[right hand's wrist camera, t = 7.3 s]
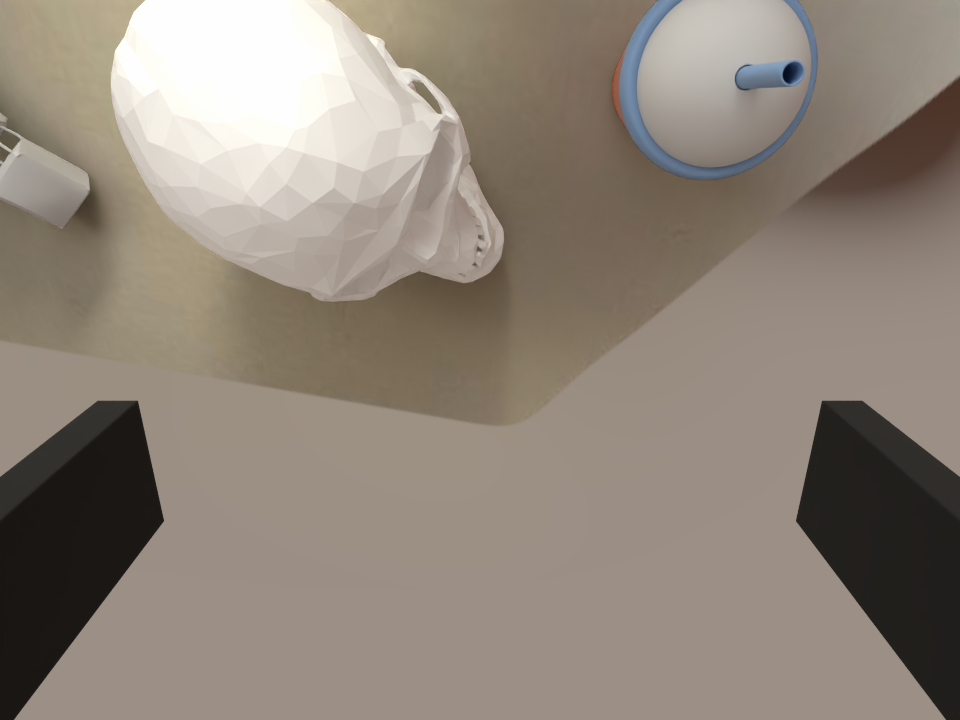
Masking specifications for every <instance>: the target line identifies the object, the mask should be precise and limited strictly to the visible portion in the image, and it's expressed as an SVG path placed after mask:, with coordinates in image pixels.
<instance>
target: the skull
mask: <svg viewBox="0 0 960 720" xmlns="http://www.w3.org/2000/svg"><path fill="white" fill-rule="evenodd" d="M412 81H415V82H421V83H424V85H425V86H426V87H427V88H428V90H429V91H430V92H431V94H432V95H433V96H434V97H435V99H436V100H437V101H438V103H439V106H440V108H441V112H442V114H437V113H436V112H435V111H434V109H433V108H432V107H431V106H430V105H429V104H428V103H427V102H426V101H425V100H424V98H422V97H421V96H420V95H419V94H417V91H416V88H415V85H414V84H413V83H412ZM111 92H112V102H113V108H114V112H115V116H116V120H117V124H118V127H119V130H120V132H121V135H122V138H123V140H124V143H125V145H126V147H127V149H128V151H129V153H130V155H131V157H132V159H133V161H134V163H135V165H136V167H137V169H138V171H139V173H140V175H141V177H142V179H143V181H144V183H145V185H146V186H147V188H148V189H149V191H150V192H151V194H152V195H153V197H154V198H155V200H156V201H157V203H158V204H159V206H160V207H161V209H162V210H163V212H164V213H165V214H166V215H167V216H168V217H169V219H170V220H171V221H172V222H174V223H175V224H176V225H177V226H179V227H180V228H181V229H182V230H184V231H185V232H186V233H188V234H189V235H190V236H191V237H193V238H194V239H195V240H197V241H198V242H199V243H200V244H202V245H203V246H205V247H206V248H208V249H209V250H211V251H213V252H214V253H216V254H217V255H219V256H221V257H222V258H224V259H226V260H227V261H229V262H232V263H234V264H236V265H238V266H241V267H243V268H245V269H247V270H250V271H252V272H254V273H257V274H259V275H261V276H263V277H266V278H268V279H270V280H273V281H275V282H277V283H280V284H282V285H285V286H288V287H292V288H295V289H299V290H302V291H306V292H309V293H311V295H312V297H314V298H316V299H318V300H320V301H332V302H337V301H350V300H365V299H368V298H371V297H374V296H375V295H376V294H377V293H378V291H379V290H381V289H383V288H385V287H387V286H389V285H391V284H393V283H394V282H396V281H398V280H399V279H401V278H403V277H406V276H408V275H411V274H413V273H416V272H418V271H421V272H424V273H427V274H430V275H434V276H438V277H441V278H443V279H450V280H453V281H457V282H461V283H468V282H473V281H475V280H477V279H479V278H481V277H483V276H485V275H487V274H488V273H490V272H491V271H492V270H493V268H494V267H495V266H496V264H497V263H498V262H499V260H500V259H501V255H502V250H503V244H504V232H503V228H502V226H501V224H500V222H499V221H498V219H497V218H496V216H495V214H494V213H493V211H492V210H491V208H490V206H489V205H488V203H487V201H486V199H485V197H484V195H483V193H482V191H481V189H480V186H479V184H478V181H477V179H476V176H475V174H474V171H473V169H472V168H471V166H470V164H469V162H470V161H471V157H470V150H469V146H468V142H467V139H466V135H465V131H464V128H463V125H462V123H461V120H460V118H459V116H458V114H457V112H456V110H455V109H454V107H453V106H452V104H451V103H450V101H449V100H448V98H447V97H446V96H445V95H444V94H443V93H442V92H441V91H440V90H439V89H438V88H437V87H436V86H435V85H434V84H433V83H432V82H431V81H430V80H429V79H428V78H427V77H425V76H423V75H422V74H420V73H419V72H417V71H415V70H413V69H408V68H399V67H398V66H397V65H396V63H395V62H394V60H393V59H392V58H391V56H390V55H389V53H388V52H387V50H386V49H385V43H384V42H383V40H382V39H380V38H378V37H375V36H372V35H369V34H366V33H365V32H363V31H361V30H360V29H359V28H358V26H357V25H356V24H355V23H354V22H353V21H352V20H351V19H350V18H348V17H347V16H346V15H345V14H344V13H343V12H341V11H340V10H339V9H338V8H337V7H335V6H334V5H333V4H332V3H330V2H329V1H328V0H145V1H144V2H143V3H142V4H141V5H140V6H139V7H138V8H137V9H136V10H135V11H134V13H133V16H132V18H131V20H130V23H129V25H128V28H127V31H126V34H125V37H124V38H123V40H122V41H121V43H120V44H119V46H118V47H117V49H116V50H115V56H114V62H113V67H112V73H111Z"/></svg>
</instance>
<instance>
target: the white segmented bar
mask: <svg viewBox="0 0 960 720" xmlns="http://www.w3.org/2000/svg"><path fill="white" fill-rule="evenodd" d="M7 121H8V118H7V117H5V116H4V115H2V114H1V113H0V136H1V135H2V133H3V132H4V130H5V131H7V132H9V133H11V134H13V135H15V136H16V137H18V138H19V139H20V141H19V143H18V144H17V145H16V146H15V147H14V149H13V150H11V149H9V148H8V147H6V146H5V145H3V144H2V143H1V142H0V147H2V148H3V149H5V150H6V151H8V152H10V154H9V155H8V157H7V158H6V160H5V161H4V162H2V161H1V160H0V164H1V165H2V166H0V200H2V201H4V202H6V203H8V204H10V205H12V206H15V207H17V208H19V209H21V210H23V211H25V212H27V213H30V214H32V215H34V216H36V217H38V218H40V219H42V220H45V221H47V222H49V223H51V224H53V225H55V226H57V227H59V228H60V229H62V228H64V227H66V225H67V224H68V222H69V221H70V220H71V218H72V217H73V215H74V214H75V213H76V211H77V210H78V209H79V207H80V206H81V204H82V203H83V202H84V200H85V199H86V197H87V196H88V195H89V193H90V186H89V177H88V174H87V173H86V172H85V171H83V170H82V169H81V168H79V167H77V166H75V165H73V164H71V163H69V162H68V161H66V160H64V159H62V158H60V157H58V156H56V155H55V154H53V153H51V152H49V151H47V150H45V149H43V148H42V147H40V146H38V145H36V144H34V143H32V142H30V141H29V140H27V139H25V138H23V137H22V136H20V135H19V134H18V133H16V132H14V131H12V130H10V129H8V128H6V127H7Z"/></svg>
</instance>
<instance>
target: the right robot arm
mask: <svg viewBox="0 0 960 720" xmlns="http://www.w3.org/2000/svg"><path fill="white" fill-rule="evenodd" d="M163 522H164V519H163V514H162V510H161V505H160V500H159V496H158V491H157V487H156V482H155V478H154V473H153V468H152V464H151V459H150V455H149V450H148V445H147V441H146V436H145V432H144V427H143V423H142V418H141V413H140V409H139V404H138V401H97V402H96V403H94V404H93V405H92V406H91V407H89V408H88V409H87V410H85V411H84V412H83V413H82V414H80V415H79V416H78V417H77V418H75V419H74V420H73V421H71V422H70V423H69V424H68V425H66V426H65V427H64V428H62V429H61V430H60V431H59V432H57V433H56V434H55V435H53V436H52V437H51V438H50V439H48V440H47V441H46V442H45V443H43V444H42V445H41V446H39V447H38V448H37V449H36V450H34V451H33V452H32V453H30V454H29V455H28V456H27V457H25V458H24V459H23V460H21V461H20V462H19V463H18V464H16V465H15V466H14V467H12V468H11V469H10V470H9V471H7V472H6V473H5V474H3V475H2V476H1V477H0V720H14V719H15V718H16V716H17V715H18V714H19V712H20V711H21V710H22V708H23V707H24V706H25V704H26V703H27V702H28V700H29V699H30V698H31V696H32V695H33V694H34V692H35V691H36V690H37V688H38V687H39V686H40V684H41V683H42V682H43V680H44V679H45V678H46V677H47V675H48V674H49V672H50V671H51V670H52V669H53V667H54V666H55V665H56V663H57V662H58V661H59V659H60V658H61V657H62V655H63V654H64V653H65V651H66V650H67V649H68V647H69V646H70V645H71V643H72V642H73V641H74V639H75V638H76V637H77V635H78V634H79V633H80V631H81V630H82V629H83V628H84V626H85V625H86V624H87V622H88V621H89V620H90V618H91V617H92V616H93V614H94V613H95V612H96V610H97V609H98V608H99V606H100V605H101V604H102V602H103V601H104V600H105V598H106V597H107V596H108V594H109V593H110V592H111V590H112V589H113V588H114V586H115V585H116V584H117V583H118V581H119V580H120V579H121V577H122V576H123V574H124V573H125V572H126V571H127V569H128V568H129V567H130V565H131V564H132V563H133V561H134V560H135V559H136V557H137V556H138V555H139V553H140V552H141V551H142V549H143V548H144V547H145V545H146V544H147V543H148V541H149V540H150V539H151V538H152V536H153V535H154V533H155V532H156V531H157V530H158V528H159V527H160V526H161V524H162V523H163ZM796 522H797V523H798V524H799V526H800V527H801V528H802V530H803V531H804V532H805V534H806V535H807V536H808V538H809V539H810V540H811V541H812V543H813V544H814V545H815V547H816V548H817V549H818V551H819V552H820V553H821V555H822V556H823V557H824V559H825V560H826V561H827V563H828V564H829V565H830V567H831V568H832V569H833V571H834V572H835V573H836V575H837V576H838V577H839V578H840V580H841V581H842V582H843V584H844V585H845V586H846V588H847V589H848V590H849V592H850V593H851V594H852V596H853V597H854V598H855V600H856V601H857V602H858V604H859V605H860V606H861V608H862V609H863V610H864V612H865V613H866V614H867V616H868V617H869V618H870V620H871V621H872V622H873V623H874V625H875V626H876V628H877V629H878V630H879V631H880V633H881V634H882V635H883V637H884V638H885V639H886V641H887V642H888V643H889V645H890V646H891V647H892V649H893V650H894V651H895V653H896V654H897V655H898V657H899V658H900V659H901V661H902V662H903V663H904V665H905V666H906V667H907V669H908V670H909V671H910V672H911V674H912V675H913V677H914V678H915V679H916V680H917V682H918V683H919V684H920V686H921V687H922V688H923V690H924V691H925V692H926V694H927V695H928V696H929V698H930V699H931V700H932V702H933V703H934V704H935V706H936V707H937V708H938V710H939V711H940V712H941V714H942V715H943V716H944V717H945V719H946V720H960V477H959V476H958V475H957V474H955V473H954V472H953V471H951V470H950V469H949V468H948V467H946V466H945V465H944V464H942V463H941V462H940V461H939V460H937V459H936V458H935V457H933V456H932V455H931V454H930V453H928V452H927V451H926V450H925V449H923V448H922V447H921V446H919V445H918V444H917V443H916V442H914V441H913V440H912V439H910V438H909V437H908V436H907V435H905V434H904V433H903V432H901V431H900V430H899V429H898V428H896V427H895V426H894V425H892V424H891V423H890V422H889V421H887V420H886V419H885V418H884V417H882V416H881V415H880V414H878V413H877V412H876V411H874V410H873V409H872V408H871V407H869V406H868V405H867V404H866V403H864V402H863V401H822V404H821V409H820V413H819V418H818V422H817V427H816V432H815V436H814V441H813V445H812V450H811V455H810V459H809V464H808V468H807V473H806V478H805V482H804V487H803V491H802V496H801V501H800V505H799V510H798V514H797V519H796Z"/></svg>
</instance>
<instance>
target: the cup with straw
mask: <svg viewBox="0 0 960 720" xmlns="http://www.w3.org/2000/svg"><path fill="white" fill-rule="evenodd" d="M816 74H817V46H816V40H815V35H814V31H813V28H812V25H811V23H810V20H809V18H808V16H807V14H806V12H805V10H804V9H803V7H802V6H801V4H800V3H799V1H798V0H658V1H657V2H656V3H655V4H654V5H653V6H652V7H651V8H650V9H649V10H648V12H647V13H646V14H645V15H644V17H643V18H642V20H641V21H640V22H639V24H638V26H637V27H636V29H635V31H634V32H633V35H632V37H631V39H630V41H629V43H628V45H627V47H626V49H625V50H624V52H623V54H622V56H621V58H620V60H619V62H618V64H617V67H616V69H615V72H614V76H613V81H612V98H613V103H614V107H615V109H616V112H617V114H618V116H619V117H620V119H621V121H622V123H623V124H624V126H625V127H626V129H627V130H628V132H629V134H630V136H631V138H632V139H633V141H634V142H635V144H636V146H637V147H638V148H639V149H640V151H641V152H642V153H643V154H644V155H645V156H646V157H647V158H648V159H649V160H650V161H652V162H653V163H654V164H655V165H657V166H659V167H660V168H662V169H663V170H665V171H667V172H669V173H672V174H674V175H677V176H680V177H684V178H688V179H696V180H714V179H721V178H726V177H730V176H734V175H737V174H739V173H742V172H744V171H747V170H749V169H751V168H753V167H754V166H756V165H758V164H760V163H761V162H763V161H764V160H766V159H767V158H768V157H770V156H771V155H772V154H773V153H774V152H776V151H777V150H778V149H779V148H780V147H781V146H782V145H783V144H784V143H785V142H786V140H787V139H788V138H789V137H790V136H791V134H792V133H793V132H794V130H795V129H796V127H797V126H798V124H799V123H800V121H801V119H802V118H803V116H804V114H805V111H806V109H807V107H808V105H809V102H810V100H811V97H812V93H813V90H814V86H815V81H816Z"/></svg>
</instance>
